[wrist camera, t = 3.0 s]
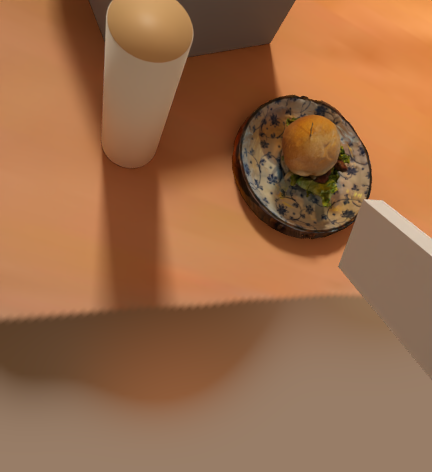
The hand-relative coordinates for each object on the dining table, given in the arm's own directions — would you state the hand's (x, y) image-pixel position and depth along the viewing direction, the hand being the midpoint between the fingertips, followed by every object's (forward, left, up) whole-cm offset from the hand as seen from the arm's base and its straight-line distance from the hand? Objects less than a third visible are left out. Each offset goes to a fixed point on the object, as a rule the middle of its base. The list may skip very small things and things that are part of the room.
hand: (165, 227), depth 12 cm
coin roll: (+4, +10, -16) cm, 19 cm away
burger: (+16, +5, -17) cm, 24 cm away
